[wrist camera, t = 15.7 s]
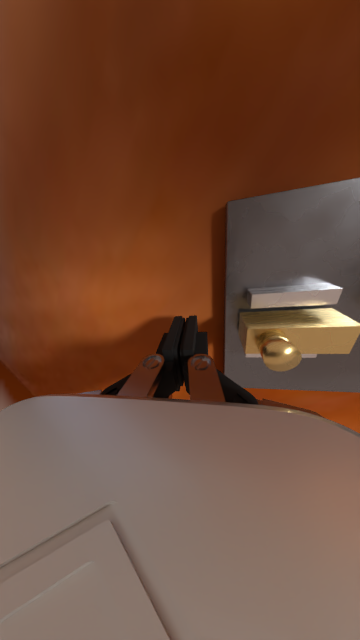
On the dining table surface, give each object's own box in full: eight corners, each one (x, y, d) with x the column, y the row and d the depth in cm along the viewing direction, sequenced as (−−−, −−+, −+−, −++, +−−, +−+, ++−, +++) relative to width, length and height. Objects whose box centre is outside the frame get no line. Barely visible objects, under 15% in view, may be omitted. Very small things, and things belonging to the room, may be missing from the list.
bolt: (239, 312, 11) (255, 345, 8) (331, 307, 10) (396, 343, 7) (238, 334, 12) (251, 372, 9) (322, 332, 11) (374, 374, 8)
